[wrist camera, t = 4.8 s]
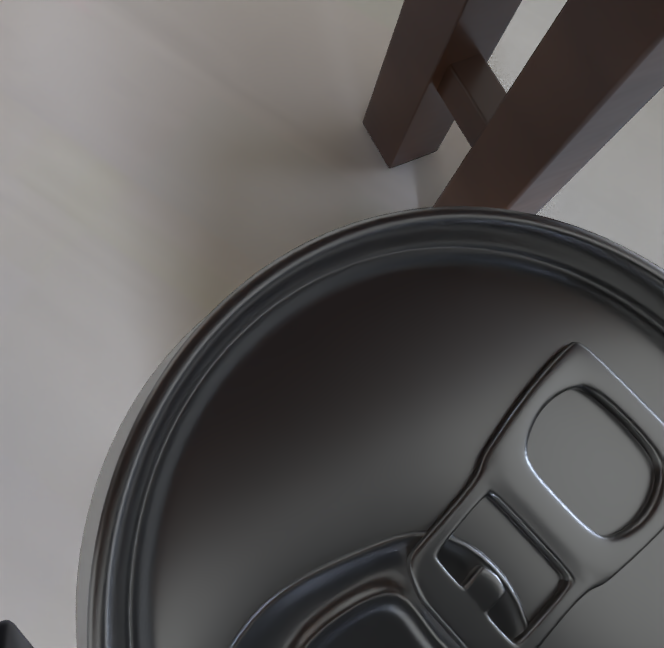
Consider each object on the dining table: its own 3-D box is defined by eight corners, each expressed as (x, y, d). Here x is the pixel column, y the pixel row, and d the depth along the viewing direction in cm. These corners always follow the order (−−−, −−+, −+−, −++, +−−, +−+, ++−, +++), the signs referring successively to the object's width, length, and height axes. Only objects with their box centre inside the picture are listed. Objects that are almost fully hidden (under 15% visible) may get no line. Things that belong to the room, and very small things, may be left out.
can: (114, 532, 15) (-236, 558, 4) (312, 359, 17) (487, 30, 6) (296, 752, 14) (587, 1668, 3) (480, 543, 16) (1069, 585, 5)
